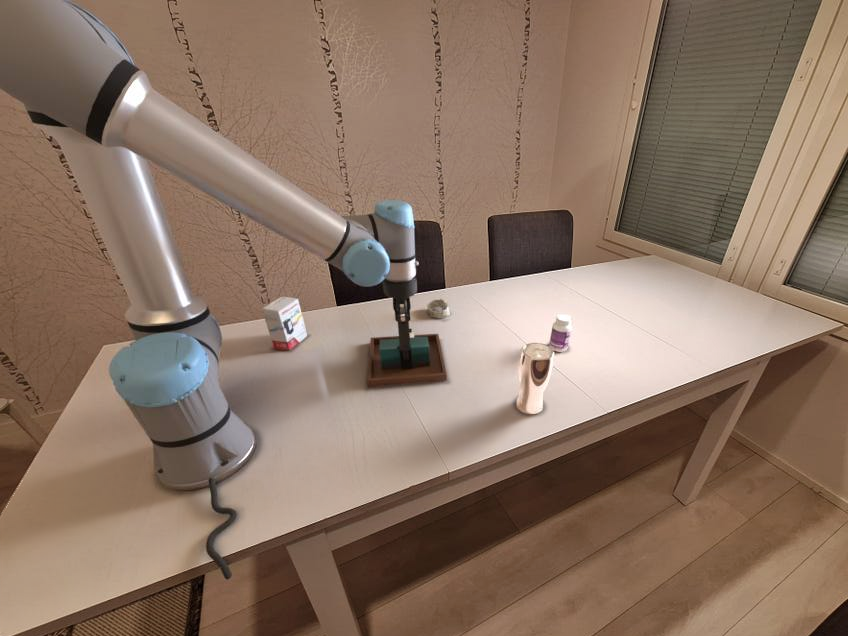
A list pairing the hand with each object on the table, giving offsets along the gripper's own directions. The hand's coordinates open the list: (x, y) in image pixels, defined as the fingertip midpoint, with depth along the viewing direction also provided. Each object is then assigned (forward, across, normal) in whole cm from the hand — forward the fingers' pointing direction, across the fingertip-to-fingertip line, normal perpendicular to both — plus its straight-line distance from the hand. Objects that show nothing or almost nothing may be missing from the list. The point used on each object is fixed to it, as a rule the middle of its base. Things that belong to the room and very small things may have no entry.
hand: (406, 361), depth 95 cm
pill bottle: (+1, +3, -43) cm, 43 cm away
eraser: (0, 0, 0) cm, 0 cm away
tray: (+1, +1, 0) cm, 1 cm away
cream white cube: (0, +8, -1) cm, 8 cm away
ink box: (+1, +15, +31) cm, 34 cm away
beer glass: (+1, -20, -27) cm, 34 cm away
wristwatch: (+1, +27, -11) cm, 29 cm away
